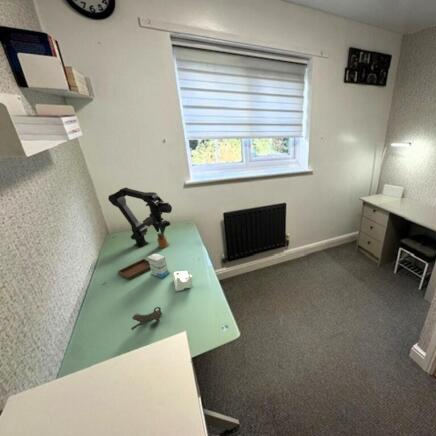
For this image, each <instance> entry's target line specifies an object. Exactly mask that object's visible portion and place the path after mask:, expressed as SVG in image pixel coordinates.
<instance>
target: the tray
mask: <svg viewBox="0 0 436 436" xmlns="http://www.w3.org/2000/svg"><path fill="white" fill-rule="evenodd" d="M149 270H150V271H151V268H150V264H149V261H148V259H146V258H142V259H140V260H138V261H136V262H134V263H132V264H130V265H127V266H125V267H123V268H121V269H118V270H117V273H118V275H120V276H122V277H123V278H124V279H127V280H128V281H131V280H133V279H134V278H136V277H138V276H140V275H142V274H144V273H146V272H147V271H149Z"/></svg>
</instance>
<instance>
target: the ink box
mask: <svg viewBox="0 0 436 436" xmlns="http://www.w3.org/2000/svg"><path fill="white" fill-rule="evenodd" d="M147 260H148V261H149V264H150V268H151V269H150V271H151V274H152V275H153V276H156V277H159V278H161V279H163V278H165V277H166V276H168V275H169V269H168V268H169V267H168V264H167V260H166V257H165V256H164V255H161V254H158V253H153V254H150V255H149V256H147Z"/></svg>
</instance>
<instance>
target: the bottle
mask: <svg viewBox="0 0 436 436" xmlns="http://www.w3.org/2000/svg"><path fill="white" fill-rule="evenodd" d="M157 244H158V247H159V249H165V248H167V247H168V246H169V244H168V239H167V237H166V236H165V235H164V237H163V238H158V237H157Z"/></svg>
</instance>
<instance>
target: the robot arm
mask: <svg viewBox="0 0 436 436" xmlns="http://www.w3.org/2000/svg"><path fill="white" fill-rule="evenodd" d="M126 196H127V197H131V198H135V199H139V200H142V201H143V202H144V203H146V204H145V207H149V215H148V217H146V218H144V219H143V221H142V223H141V222H140V221H139V219H138V218H137V217H136V215H135V214H134V213H133V211H132V210H131V209H130V207H129V205H128V204H127V199H126ZM107 200H108V201H109V203H111V205H113V206H114V207H116V208H118V210H119V211H120V212H121V213H122V215H123V216H124V218H125V219H126V220H127V222H128V223H129V225H130V226H131V232H132V234H131V235H130V239H131V240H132V241H134V242H135V243H134V244H133V245H134V246H135V247H137V248H142V247H144V246H146V245H149V242H147V241H146V238H145V236H146V235H147V233H148V227H151V226H152V227H153V228H154V230H155V231H156V232H157V233H162V234H164V235H165V231H166V228H167V227H169V226H171V221H169V220H166V219H164V218H163V216H162V215H163V214H170V213H172V211H173V207H172V205H171V204H170V203H169V202H165V201H164V200H163V199H162V198H161V196H160V195H158V193H157V192H153V191H152V192H151V191H147V192H145V191H141V190H136V189H133V188H129V187H123V188H120V189H119V190H117V191H116V192H114V193H111V194H110V195H108V198H107Z"/></svg>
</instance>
